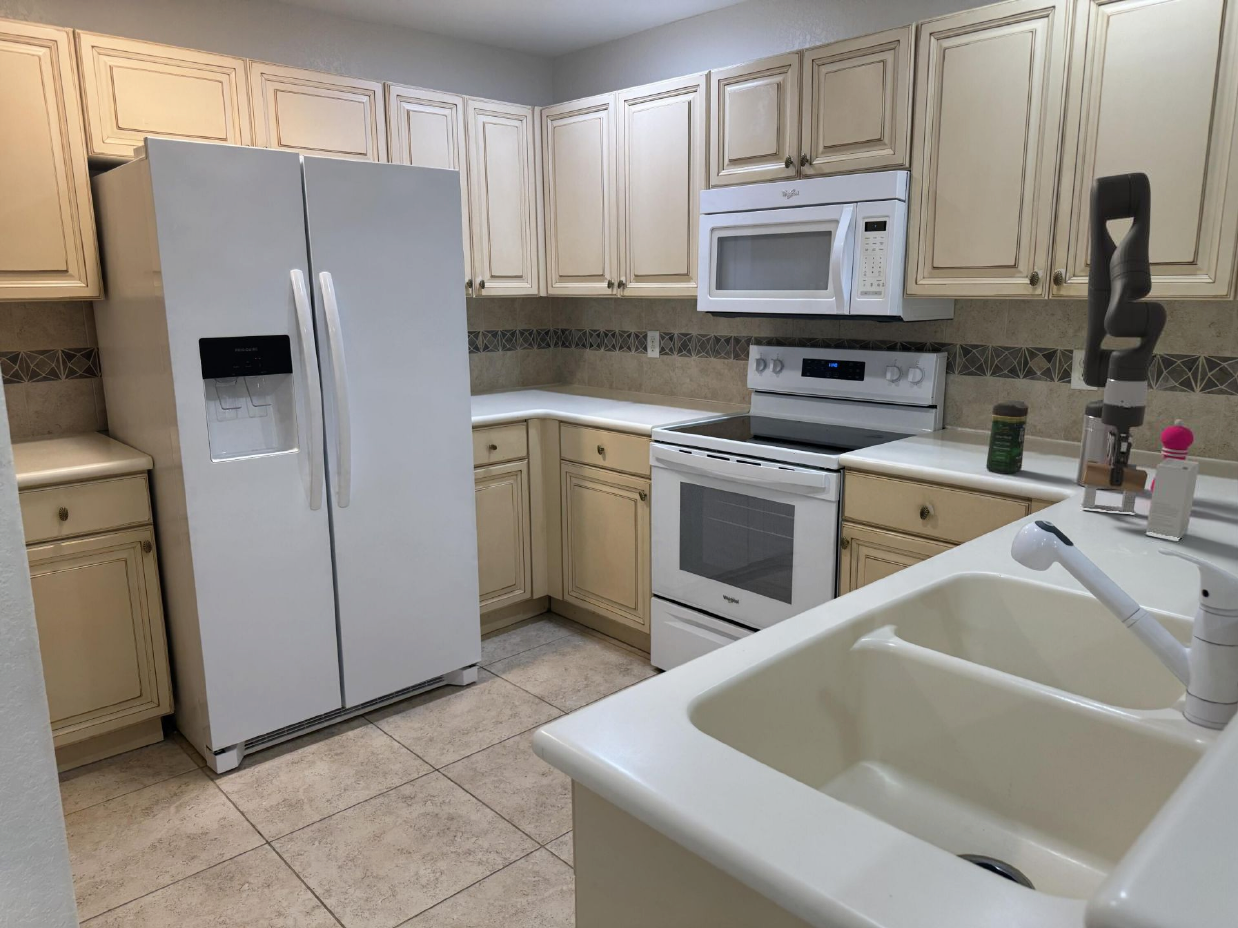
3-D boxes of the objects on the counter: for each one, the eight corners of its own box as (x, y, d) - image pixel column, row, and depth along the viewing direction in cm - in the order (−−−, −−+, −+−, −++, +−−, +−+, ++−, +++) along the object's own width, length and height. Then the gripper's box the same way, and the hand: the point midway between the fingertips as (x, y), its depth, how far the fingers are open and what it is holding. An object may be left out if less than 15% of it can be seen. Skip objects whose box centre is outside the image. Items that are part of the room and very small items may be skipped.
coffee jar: (1013, 475, 222) (1020, 404, 218) (982, 471, 227) (988, 401, 224) (1025, 469, 229) (1033, 400, 225) (995, 465, 234) (1001, 397, 231)
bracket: (1080, 505, 194) (1085, 460, 191) (1131, 510, 190) (1137, 464, 187) (1083, 512, 187) (1088, 466, 185) (1135, 517, 184) (1142, 470, 181)
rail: (1081, 479, 183) (1085, 461, 182) (1140, 488, 179) (1145, 470, 178) (1083, 483, 180) (1087, 465, 179) (1143, 493, 176) (1147, 474, 175)
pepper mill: (1150, 502, 196) (1163, 415, 192) (1188, 507, 192) (1201, 418, 188) (1145, 508, 191) (1157, 419, 187) (1183, 514, 186) (1197, 423, 182)
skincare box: (1154, 528, 176) (1164, 456, 173) (1189, 534, 172) (1200, 461, 169) (1144, 536, 170) (1154, 463, 167) (1180, 543, 166) (1191, 467, 163)
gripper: (1099, 395, 183) (1090, 474, 187) (1107, 406, 170) (1097, 490, 174) (1140, 397, 180) (1129, 477, 184) (1151, 408, 168) (1140, 493, 172)
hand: (1114, 483), depth 179 cm, fingers closed on rail, 3 cm apart
